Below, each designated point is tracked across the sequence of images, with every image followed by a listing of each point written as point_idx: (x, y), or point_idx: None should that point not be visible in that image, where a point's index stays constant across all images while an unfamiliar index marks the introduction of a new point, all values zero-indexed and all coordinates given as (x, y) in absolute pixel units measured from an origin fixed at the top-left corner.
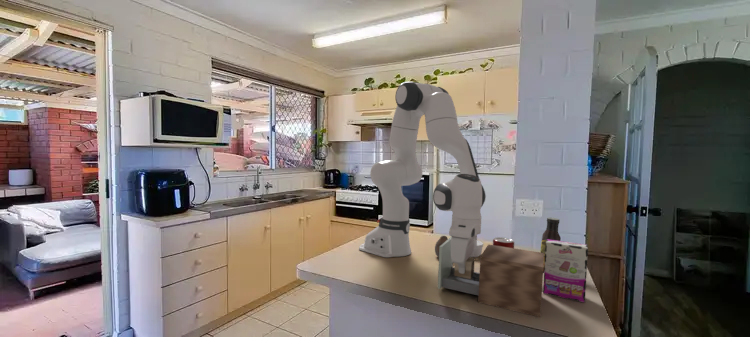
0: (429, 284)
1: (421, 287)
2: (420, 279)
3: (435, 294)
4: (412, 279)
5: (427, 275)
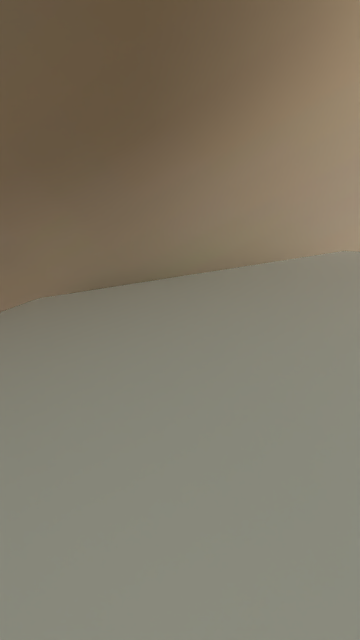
0: (117, 195)
1: (35, 175)
2: (150, 87)
3: (20, 296)
4: (105, 28)
5: (261, 90)
